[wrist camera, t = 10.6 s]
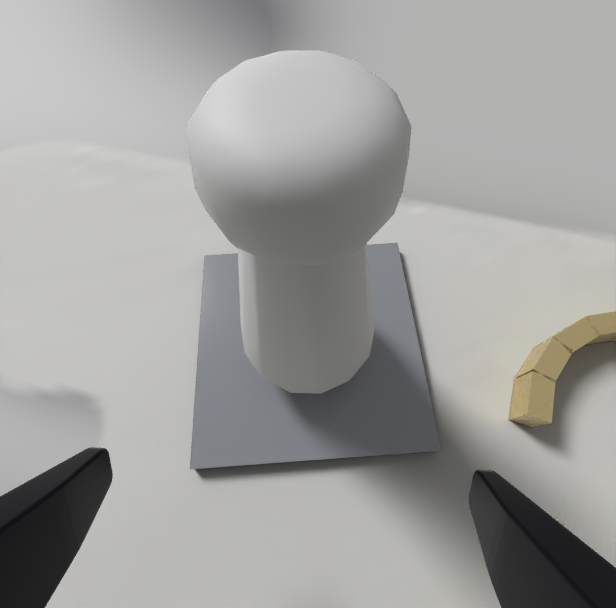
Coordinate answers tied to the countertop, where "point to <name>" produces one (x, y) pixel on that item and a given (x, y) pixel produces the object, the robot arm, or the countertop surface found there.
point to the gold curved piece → (554, 367)
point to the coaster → (309, 406)
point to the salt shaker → (301, 204)
